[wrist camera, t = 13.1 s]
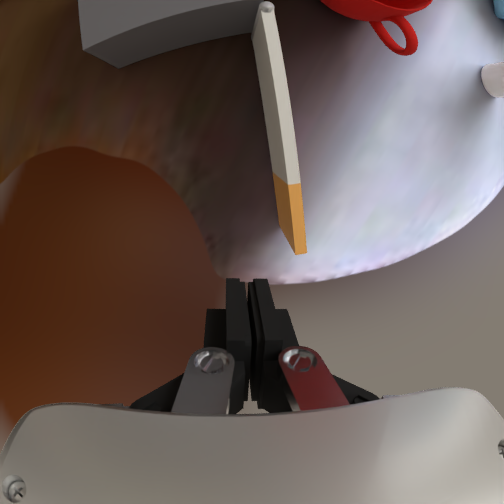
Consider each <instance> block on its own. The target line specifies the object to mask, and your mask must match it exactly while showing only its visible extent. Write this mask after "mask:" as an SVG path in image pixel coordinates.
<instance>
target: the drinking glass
mask: <svg viewBox="0 0 504 504" xmlns="http://www.w3.org/2000/svg"><path fill="white" fill-rule="evenodd" d="M481 78H482V82H483V85H484V87H485V89H486V91H487V92H488V93H489V94H490V95H491V96H493V97H497V98H504V62H500V63H494V64H486V65H484V66H483V68H482V71H481Z"/></svg>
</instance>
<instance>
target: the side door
mask: <svg viewBox="0 0 504 504" xmlns="http://www.w3.org/2000/svg"><path fill="white" fill-rule="evenodd" d="M251 40H252V42H253V48H254V53H255V59H256V65H257V71H258V77H259V84H260V90H261V96H262V103H263V109H264V116H265V123H266V129H267V136H268V143H269V150H270V158H271V165H272V172H273V180H274V187H275V195H276V203H277V211H278V219H279V226H280V228H281V229H282V231H283V233H284V235H285V237H286V238H287V240H288V242H289V244H290V246H291V248H292V249H293V251H294V253H295V255H298V254H304V253H307V248H306V235H305V224H304V213H303V202H302V193H301V183H300V174H299V165H298V157H297V149H296V141H295V133H294V126H293V119H292V112H291V105H290V98H289V92H288V85H287V79H286V73H285V67H284V61H283V56H282V50H281V45H280V39H279V34H278V29H277V24H276V19H275V14H274V5H273V4H272V3H271V2H268V1H265V2H262V3H260V5H259V8H258V12H257V15H256V19H255V23H254V27H253V31H252V34H251Z"/></svg>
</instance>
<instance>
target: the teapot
mask: <svg viewBox="0 0 504 504" xmlns="http://www.w3.org/2000/svg"><path fill="white" fill-rule="evenodd" d="M493 2H494V7H495V9H494V13H495V15H496V16H497V17H498V18H499V19H501V18H502V19H503V20H504V0H493Z"/></svg>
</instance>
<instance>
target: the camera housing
mask: <svg viewBox="0 0 504 504" xmlns="http://www.w3.org/2000/svg"><path fill="white" fill-rule="evenodd" d="M77 1H78V7H79V20H80V30H81V39H82V47H83V51H85V52H87V53H89V54H91V55H93V56H95V57H97V58H99V59H101V60H103V61H105V62H107V63H109V64H111V65H113V66H114V67H116V68H118V69H119V68H122V67H124V66H127V65H129V64H132V63H135V62H138V61H140V60H143V59H146V58H149V57H152V56H155V55H158V54H161V53H164V52H167V51H171V50H174V49H178V48H181V47H185V46H189V45H192V44H196V43H200V42H204V41H209V40H213V39H218V38H223V37H228V36H233V35H239V34H244V33H251V32H252V31H253V27H254V23H255V19H256V15H257V12H258V8H259V5H260V3H262V2H263V1H264V0H77Z"/></svg>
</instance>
